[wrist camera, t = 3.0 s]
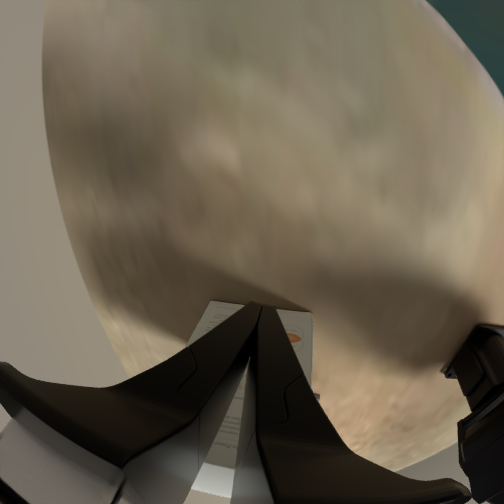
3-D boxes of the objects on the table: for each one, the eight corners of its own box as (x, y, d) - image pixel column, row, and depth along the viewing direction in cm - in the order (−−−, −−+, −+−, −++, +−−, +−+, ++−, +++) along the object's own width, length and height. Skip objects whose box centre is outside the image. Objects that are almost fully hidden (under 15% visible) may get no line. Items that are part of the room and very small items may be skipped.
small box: (213, 355, 24) (160, 481, 13) (209, 297, 22) (131, 440, 10) (303, 368, 23) (287, 507, 12) (315, 310, 21) (307, 479, 9)
